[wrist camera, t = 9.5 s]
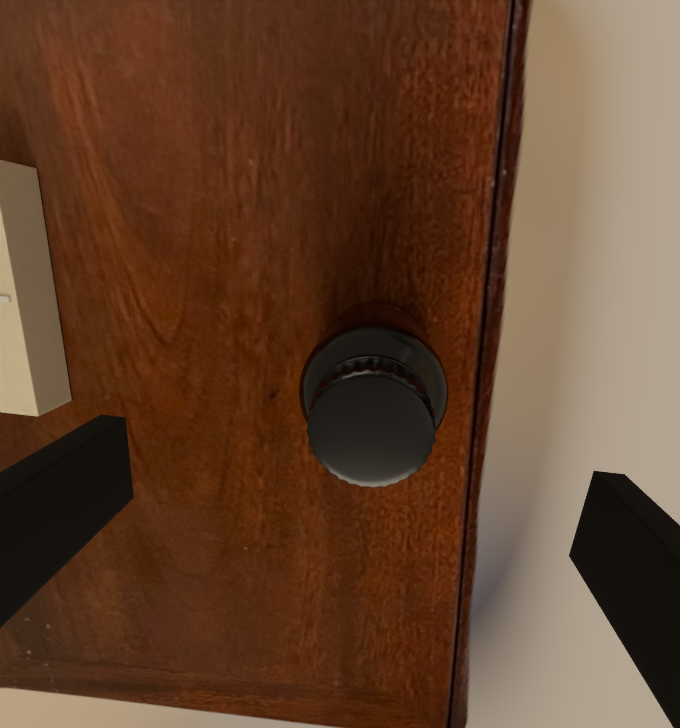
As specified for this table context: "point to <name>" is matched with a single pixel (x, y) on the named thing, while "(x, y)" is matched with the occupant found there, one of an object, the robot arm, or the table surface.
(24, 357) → the sink deck
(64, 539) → the robot arm
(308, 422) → the supplement bottle
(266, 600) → the table surface
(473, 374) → the table surface
